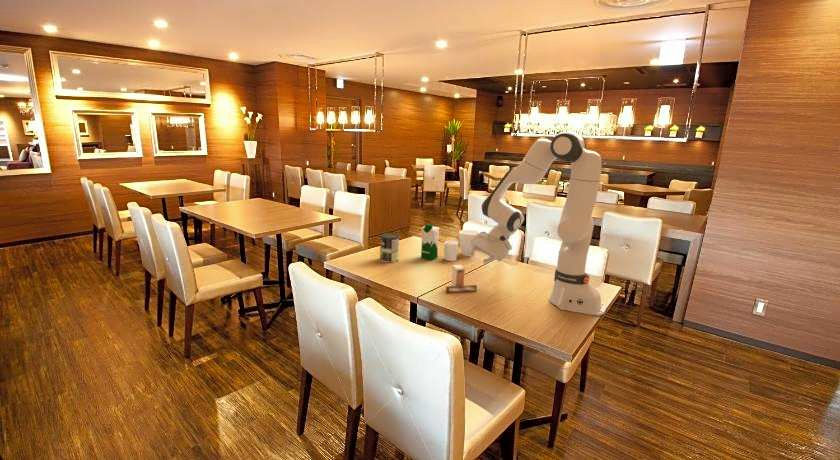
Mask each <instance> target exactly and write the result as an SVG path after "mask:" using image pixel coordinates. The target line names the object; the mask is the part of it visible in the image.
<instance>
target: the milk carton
mask: <svg viewBox="0 0 840 460" xmlns="http://www.w3.org/2000/svg"><path fill="white" fill-rule="evenodd" d="M420 230H421V250H420V259H422V258H423V259H424V260H426V261H427V260H429V261H434V260H436V259H437V258H438V257H439V256H438V255H439V253H438V250H439V249H438V247H439V233H440V232H439V231H440V227H439V226H433V224H432V223H425V226H423V227H421V229H420Z"/></svg>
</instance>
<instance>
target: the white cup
mask: <svg viewBox="0 0 840 460" xmlns="http://www.w3.org/2000/svg"><path fill="white" fill-rule="evenodd" d="M443 244H444V245H443V246H444V248H443V251H444V253H443V254H444V260H445V261H447V262H456V261H457V256H458V249H459V242H458V241H456V240H446V241H445V240H444V243H443Z"/></svg>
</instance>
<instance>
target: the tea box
mask: <svg viewBox="0 0 840 460" xmlns="http://www.w3.org/2000/svg"><path fill="white" fill-rule="evenodd" d="M465 273H466V269H465V267H464V266H463V265H462V264H453V265H452V275H451V276H452V277H451V286H463V285H465Z"/></svg>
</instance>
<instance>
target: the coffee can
mask: <svg viewBox="0 0 840 460" xmlns="http://www.w3.org/2000/svg"><path fill="white" fill-rule="evenodd" d="M379 237H380V248H379V249H380V252H379V253H380V255H379V258H380V259H379V261H380V260H381V261H380V262H382V261H383V262H382V263H386V262H394V263H397V262H399V251H400V250H399V246H400V245H399V244H400V235H399V234H397V233H388V232H387V233H381V234H380V235H379ZM396 261H397V262H396Z"/></svg>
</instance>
